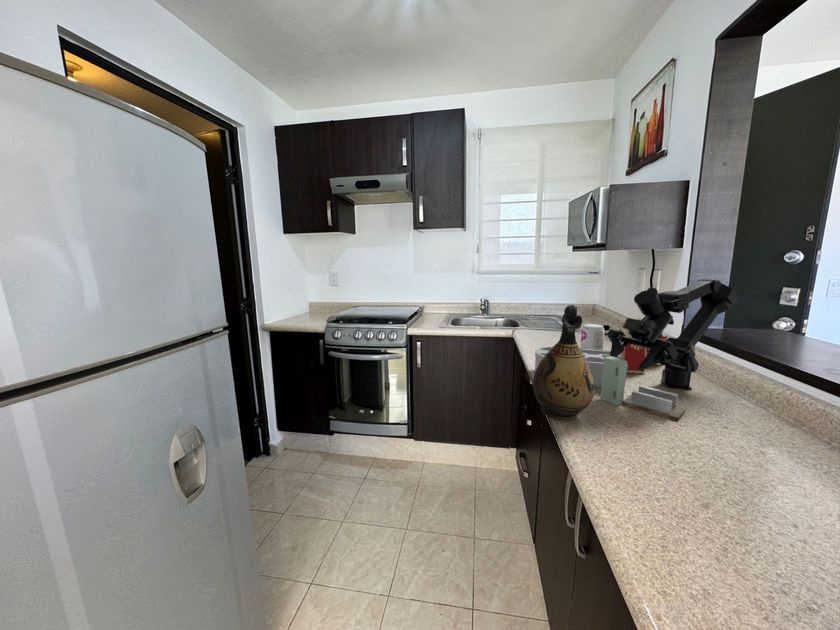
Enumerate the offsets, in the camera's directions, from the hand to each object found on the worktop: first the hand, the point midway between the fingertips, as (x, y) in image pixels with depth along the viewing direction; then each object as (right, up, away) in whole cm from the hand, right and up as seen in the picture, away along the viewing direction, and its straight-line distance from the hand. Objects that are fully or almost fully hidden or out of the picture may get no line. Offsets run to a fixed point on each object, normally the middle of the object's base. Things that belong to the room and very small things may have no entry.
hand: (623, 365), depth 96 cm
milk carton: (+19, -6, +27) cm, 34 cm away
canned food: (+33, -5, +34) cm, 48 cm away
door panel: (-3, -11, 0) cm, 11 cm away
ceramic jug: (-21, -12, -6) cm, 25 cm away
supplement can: (+10, -4, +38) cm, 39 cm away
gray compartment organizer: (-5, -8, +20) cm, 22 cm away
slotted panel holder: (+5, -12, -5) cm, 13 cm away
